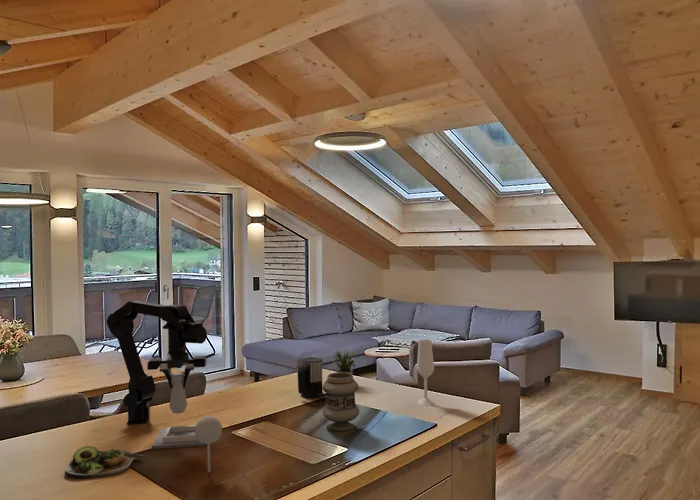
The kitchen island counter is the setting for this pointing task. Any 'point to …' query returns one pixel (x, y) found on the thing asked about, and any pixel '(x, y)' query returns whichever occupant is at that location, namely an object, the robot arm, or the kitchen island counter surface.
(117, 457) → the salad plate
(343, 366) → the house plant
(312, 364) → the milk frother
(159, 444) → the socket board
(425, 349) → the champagne flute
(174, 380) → the salt shaker
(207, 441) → the lollipop
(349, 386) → the apothecary jar
